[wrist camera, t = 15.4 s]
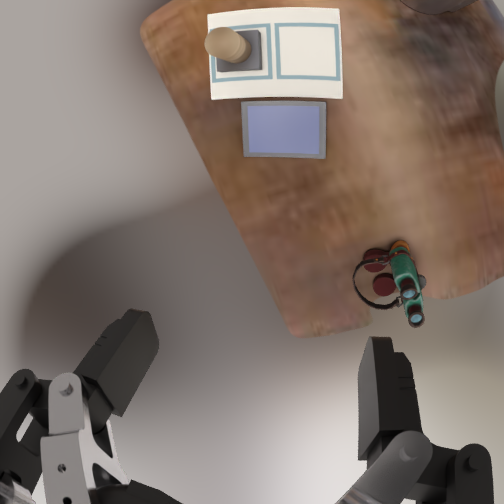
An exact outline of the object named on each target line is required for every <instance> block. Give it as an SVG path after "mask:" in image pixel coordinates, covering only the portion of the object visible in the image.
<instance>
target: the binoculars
mask: <svg viewBox="0 0 504 504" xmlns="http://www.w3.org/2000/svg"><path fill="white" fill-rule="evenodd" d="M388 263H390V265H391V268H392V273H393V276H392V275H390V274H380V275H378V276H377V277H376V278H375V280H374V284H373V289H374V291H375V293H376V294H378V295H380V296H388V295H390V294H391V293H393V291H394V290H395V288H396V285H397V287H398V289H399V291H400V295H401V296H399V297H397V298H401V301H402V304H404V309H405V314H406V317H407V318H408V321H409V324H410V325H411V326H412V327H414V328H417V327H420V326H421V325H423V323H424V321H425V318H424V314H423V299H422V293H421V290H422V289H423V288H424V287H425V286H426V279H425V277H424V276H423V275H419V274H418V273H417V269H416V265H415V262H414V260H413V258H412V257H411V255H410V250H409V247H408V244H407V243H406V242H405V241H397V242H396V243H394V245H393V246H392V248H391V250H390V252H386V253H385V252H384V251H381V250H370V251H368V252H366V253H365V255H364V258H363V261H361V262H360V263H359V264H358V266H357V267H356V269H355V272H354V274H353V285H354V290H355V291H356V293H357V295H358V296H359V298H360V299H361V300H362V301H363V302H364V303H365V304H367V305H368V306H370V307H373V308H375V309H381V310H387V309H392V308H393V307H395V306H397V307H400V306H401V305H402V304H400V305H399V299H397V298H396V300H394V301H393V302H392V303H390V304H387V305H380V304H375V303H373V302H370V301H368V300H367V299H366V298H365V297H363V296H362V295H361V293H360V292H359V291H358V289H357V287H356V285H355V282H354V278H355V275H356V272H357V271H358V270H359V269H360V268H361V267H362V266H364V268H365V269H366V270H368V271H370V272H379V271H381V270H383V269H384V268H385V267H386V266H387V264H388ZM398 305H399V306H398Z"/></svg>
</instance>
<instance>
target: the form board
mask: <svg viewBox="0 0 504 504" xmlns="http://www.w3.org/2000/svg"><path fill="white" fill-rule="evenodd" d="M218 27H228V28H230V29H232V30H234V31H245V30H259V32H260V33H261V50H262V70H251V71H235V72H223V73H222V72H217V64H216V57H214V56H211V55H210V54H209V63H210V83H211V100H215V99H229V98H248V97H316V98H334V99H343V84H342V48H341V29H340V14H339V9H335V8H314V7H283V8H262V9H249V10H239V11H230V12H222V13H216V14H209V15H208V34H209V32H211V31H212V30H213V29H215V28H218Z"/></svg>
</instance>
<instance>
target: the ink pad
mask: <svg viewBox="0 0 504 504" xmlns="http://www.w3.org/2000/svg"><path fill="white" fill-rule="evenodd" d="M241 107H242V129H243V150H244V157H295V158H317V159H325V156H326V102H317V101H244V102H241Z"/></svg>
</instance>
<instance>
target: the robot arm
mask: <svg viewBox="0 0 504 504" xmlns="http://www.w3.org/2000/svg"><path fill="white" fill-rule="evenodd" d="M400 1H402V2H403V3H404V4H406V5H407V6H409V7H410V8H412V9H414V10H416V11H419V12H421V13H425V14H432V15H435V14H441V13H443V12H445V11H450V12H455V11H457V10H459V9H461V8H463V7H465V6H467V5H469V4H471V3H473V2H475V1H477V0H400ZM158 349H159V339H158V336H157V333H156V330H155V327H154V324H153V321H152V318H151V315H150V313H149V312H147V311H142V310H137V309H129V310H128V311H127V312H126V313H125V314H124V316H123V317H122V318H121V319H117V320H116V321H115V322H113V323H112V324H110V325H109V326H108V327H107V328H106V329H105V330H104V332H103V333H102V334H101V337H100V338H98V340H97V341H96V342H95V345H93V346H92V348H91V349H90V350H89V352H88V353H87V354H86V356H85V357H84V358H83V360H82V361H81V363H80V364H79V365H78V367H77V368H76V370H75V371H74V372H73V373H63V374H60V375H59V376H57V377H56V378H54V380H42V379H38V378H37V377H36V376H35V374H34V373H33V372H32V371H31V370H29V369H22V370H19V371H17V372H16V373H15V374H14V375H13V376H12V377H11V379H10V380H9V382H8V383H7V384H6V386H5V387H4V389H3V390H2V392H1V393H0V504H36V503H35V501H34V500H32V497H31V495H32V493H33V491H34V489H35V486H36V484H37V482H38V480H39V478H40V475H41V473H42V472H43V481H44V488H45V495H46V502H47V504H182V503H180V502H179V501H177V500H175V499H173V498H172V497H170V496H168V495H167V494H165V493H164V492H162V491H160V490H158V489H155V488H152V487H149V486H147V485H144V484H142V483H138V482H136V481H134V480H131V482H130V483H129V481H128V478H127V476H126V474H125V472H124V470H123V468H122V467H121V465H120V463H119V460H118V456H117V452H116V448H115V443H114V438H113V434H112V429H111V424H110V420H109V417H110V415H111V413H112V414H115V415H117V416H120V417H122V416H123V414H124V412H125V410H126V408H127V406H128V405H129V403H130V401H131V399H132V397H133V396H134V394H135V392H136V390H137V388H138V386H139V385H140V383H141V381H142V379H143V378H144V376H145V374H146V372H147V370H148V369H149V367H150V365H151V363H152V361H153V360H154V358H155V356H156V354H157V352H158ZM358 400H359V402H358V403H359V441H358V442H359V443H358V460H367V470H366V471H365V473H364V474H363V475H362V476H361V477H360V478H359V479H358V480H357V482H356V483H355V484H354V485H353V486H352V487H351V488H350V489H349V490H348V491H347V492H346V493H345V494H344V495H343V496H342V497H341V498H340V499H339V500H338V501H337V502H336V503H335V504H400V503H401V502H402V501H403V499H404V498H406V499H411V500H416V504H494V495H493V494H494V493H493V476H492V464H491V457H490V454H489V452H488V451H487V449H486V448H485V447H483V446H482V445H479V444H469V445H466V446H465V447H463V448H462V449H461V450H454V449H449V448H444V447H440V446H436V445H434V444H433V443H431V442H430V440H429V439H428V438H427V437H426V436H425V435H424V434H423V431H422V427H421V420H420V414H419V406H418V400H417V394H416V390H415V383H414V379H413V372H412V367H411V363H410V362H409V360H408V359H407V357H406V356H405V354H404V353H403V352H394V349H393V344H392V339H391V338H390V337H369V338H368V341H367V344H366V348H365V350H364V354H363V357H362V360H361V363H360V366H359V372H358ZM28 413H29V414H30V415H31V416H33V420H32V422H31V423H30V425H29V427H28V429H27V430H26V432H25V434H24V436H23V438H22V439H21V441H20V442H18V441H17V439H16V434H17V431H18V429H19V428H20V426H21V424H22V423H23V421H24V419H25V417H26V416H27V414H28Z"/></svg>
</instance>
